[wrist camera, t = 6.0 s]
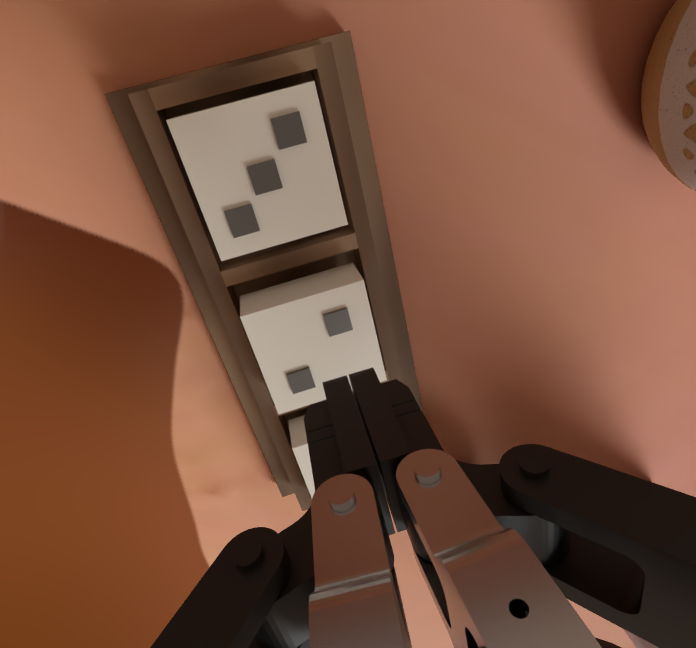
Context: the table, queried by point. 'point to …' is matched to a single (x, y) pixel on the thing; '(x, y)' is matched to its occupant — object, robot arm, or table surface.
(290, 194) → the tile three
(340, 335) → the tile two
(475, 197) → the table surface
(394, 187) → the table surface
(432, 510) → the robot arm
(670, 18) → the vase
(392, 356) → the board
